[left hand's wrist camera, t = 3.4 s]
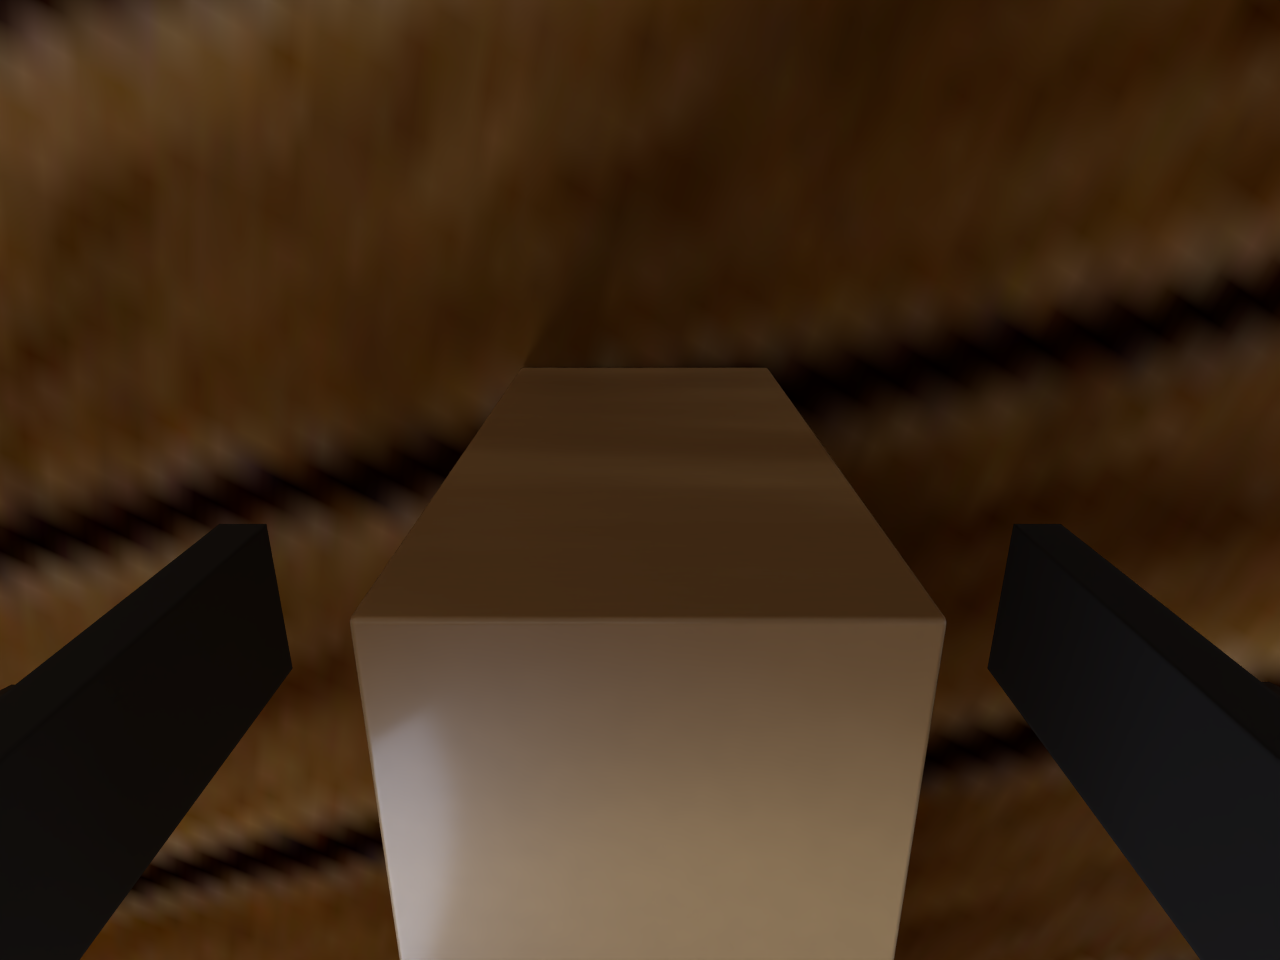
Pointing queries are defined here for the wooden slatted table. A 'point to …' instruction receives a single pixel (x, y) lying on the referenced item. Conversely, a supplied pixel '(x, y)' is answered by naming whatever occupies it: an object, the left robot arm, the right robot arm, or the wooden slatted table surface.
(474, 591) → the bar
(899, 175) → the wooden slatted table surface
